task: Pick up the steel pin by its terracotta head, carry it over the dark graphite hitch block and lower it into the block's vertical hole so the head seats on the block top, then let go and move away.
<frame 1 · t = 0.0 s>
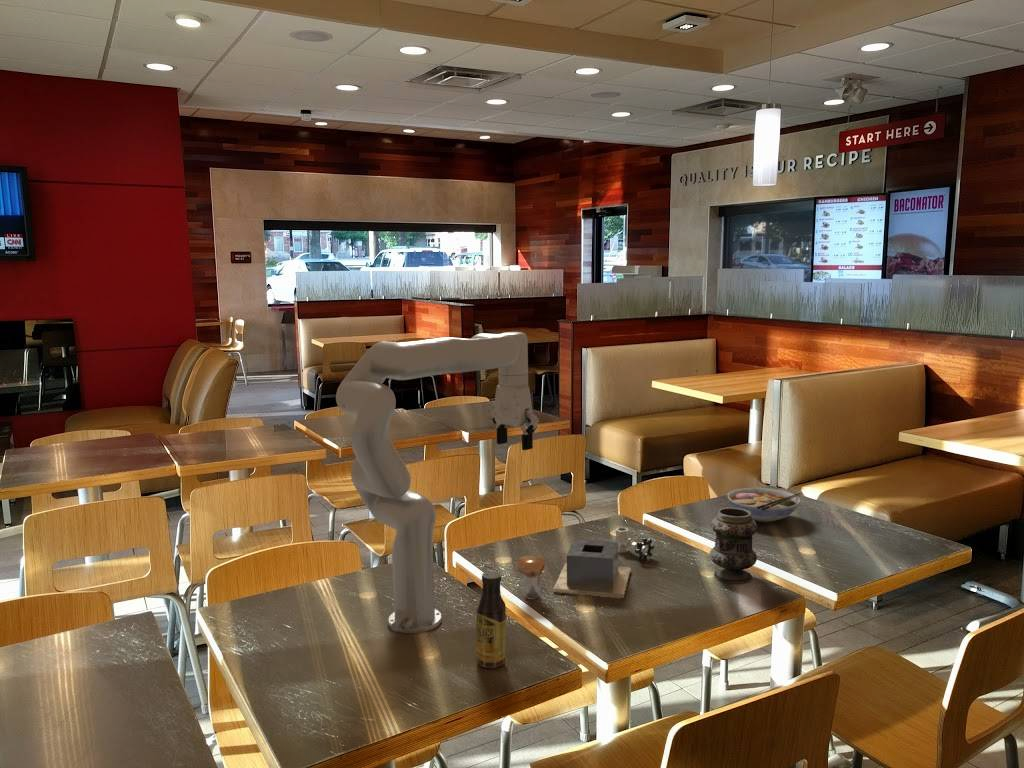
hand: (514, 446, 202), 37 cm above the table, tool pointing down, fingers open, 9 cm apart
hitch block: (593, 581, 207), on the table
ramen bowl: (762, 519, 256), on the table
apothecary jar: (732, 577, 209), on the table
sauce bottle: (491, 663, 166), on the table
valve: (631, 555, 227), on the table
pin: (531, 596, 199), on the table
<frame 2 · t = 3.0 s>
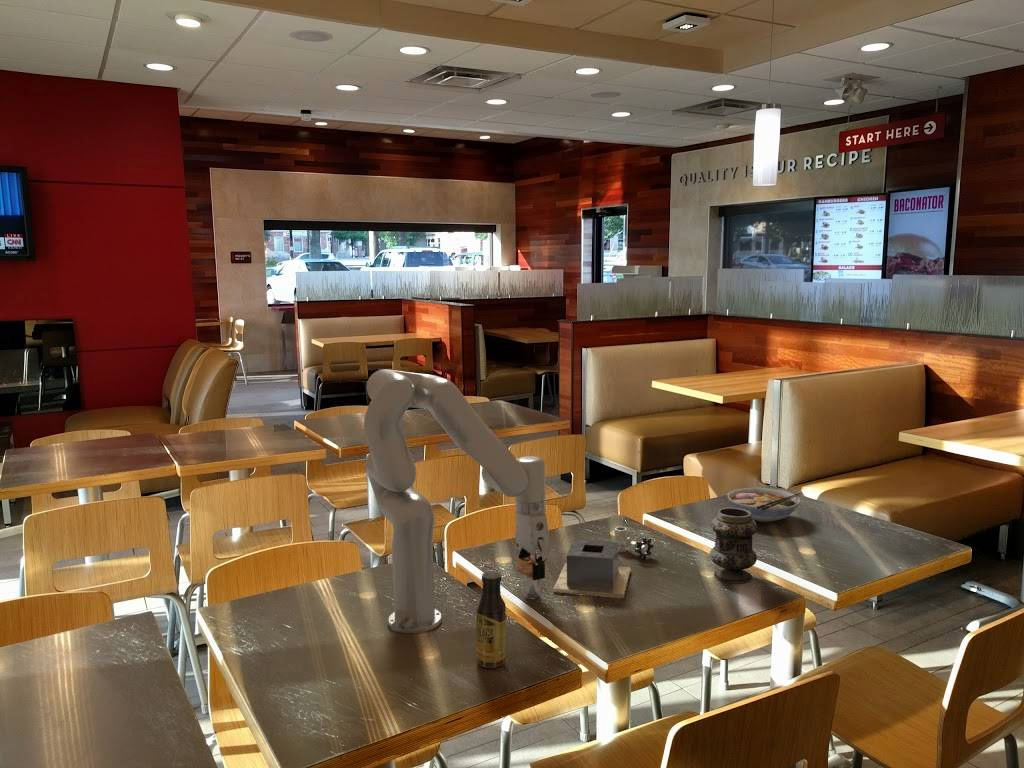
hand: (531, 573, 198), 6 cm above the table, tool pointing down, fingers closed on pin, 7 cm apart
pin: (532, 596, 199), on the table, touching gripper
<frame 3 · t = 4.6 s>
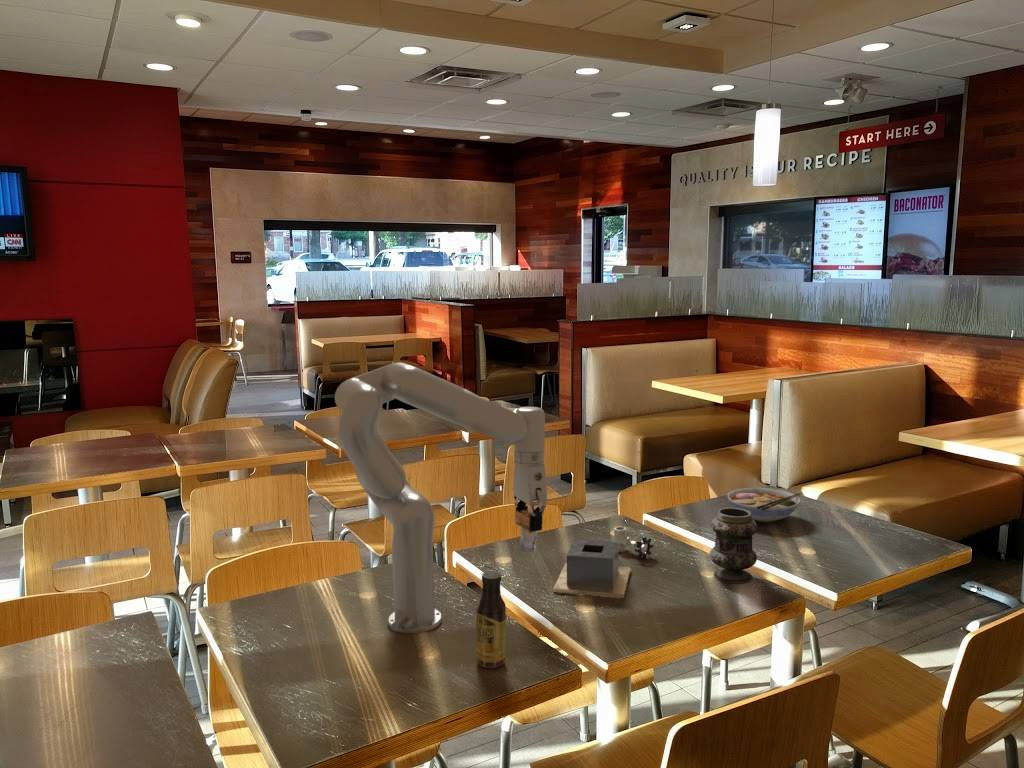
hand: (528, 525, 196), 19 cm above the table, tool pointing down, fingers closed on pin, 7 cm apart
pin: (528, 549, 197), point 13 cm above the table, touching gripper
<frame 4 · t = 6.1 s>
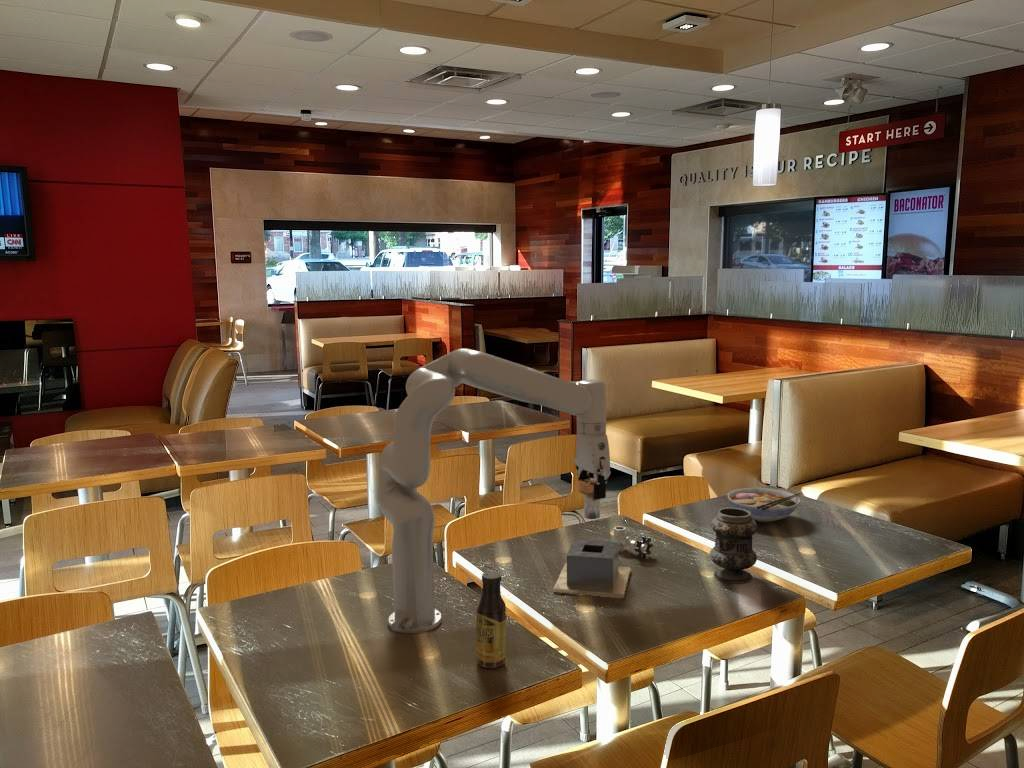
hand: (591, 494, 204), 24 cm above the table, tool pointing down, fingers closed on pin, 7 cm apart
pin: (592, 516, 205), point 18 cm above the table, touching gripper
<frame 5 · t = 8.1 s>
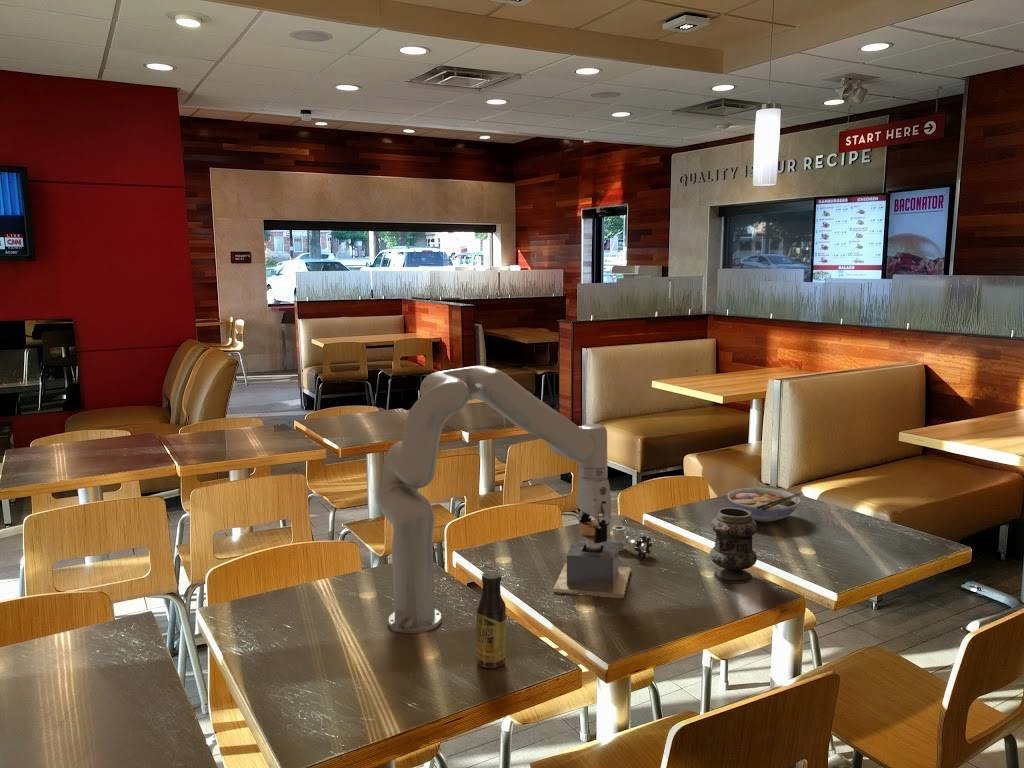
hand: (593, 537, 206), 12 cm above the table, tool pointing down, fingers closed on pin, 7 cm apart
pin: (593, 559, 207), point 6 cm above the table, touching gripper
when the fingers open (10 cm above the table, at t = 9.6 s): pin drops 2 cm, resting on hitch block.
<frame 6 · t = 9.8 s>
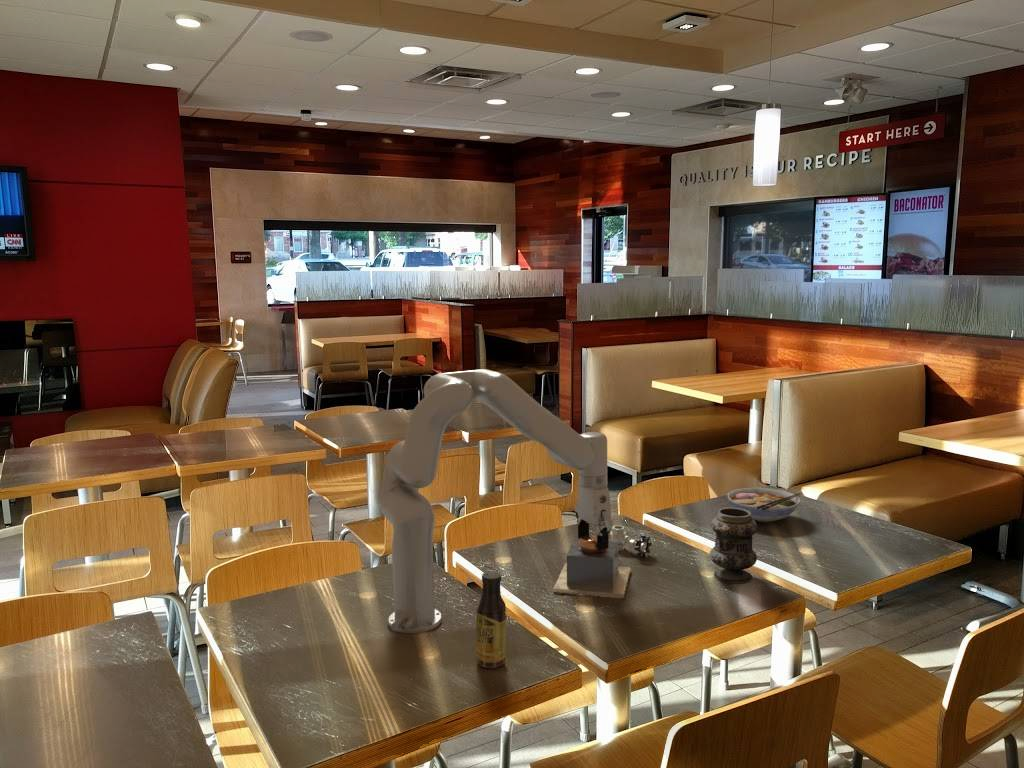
hand: (592, 543, 206), 11 cm above the table, tool pointing down, fingers open, 9 cm apart
pin: (592, 573, 207), point 2 cm above the table, touching hitch block
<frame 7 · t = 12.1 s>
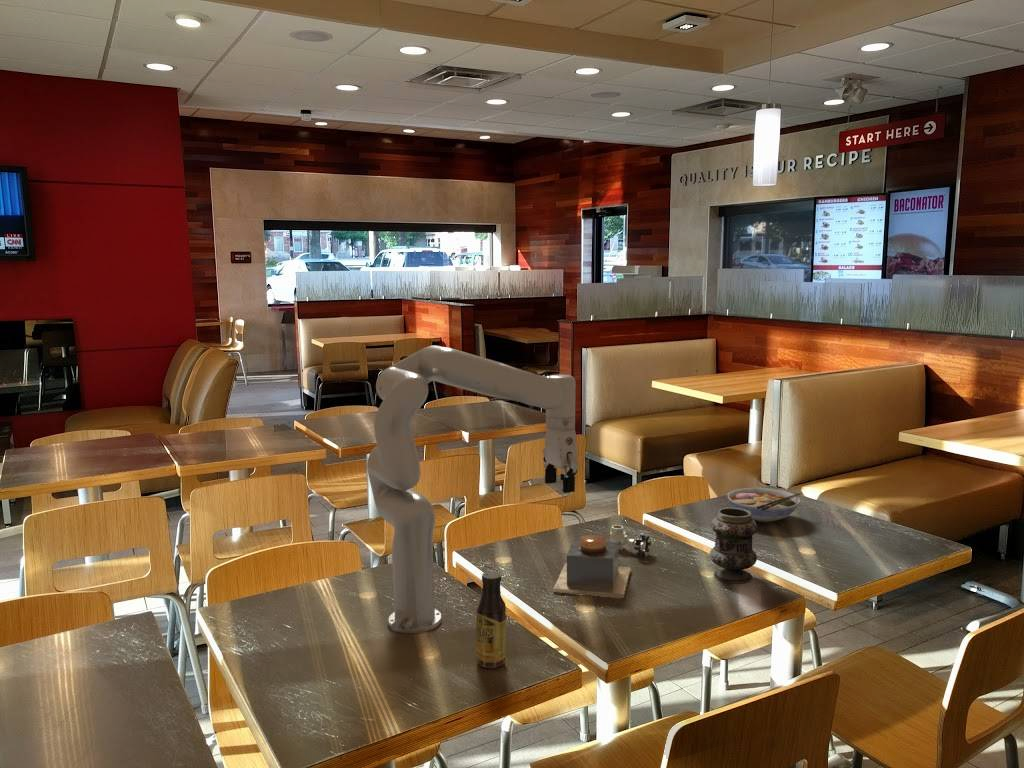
hand: (559, 487, 204), 26 cm above the table, tool pointing down, fingers open, 9 cm apart
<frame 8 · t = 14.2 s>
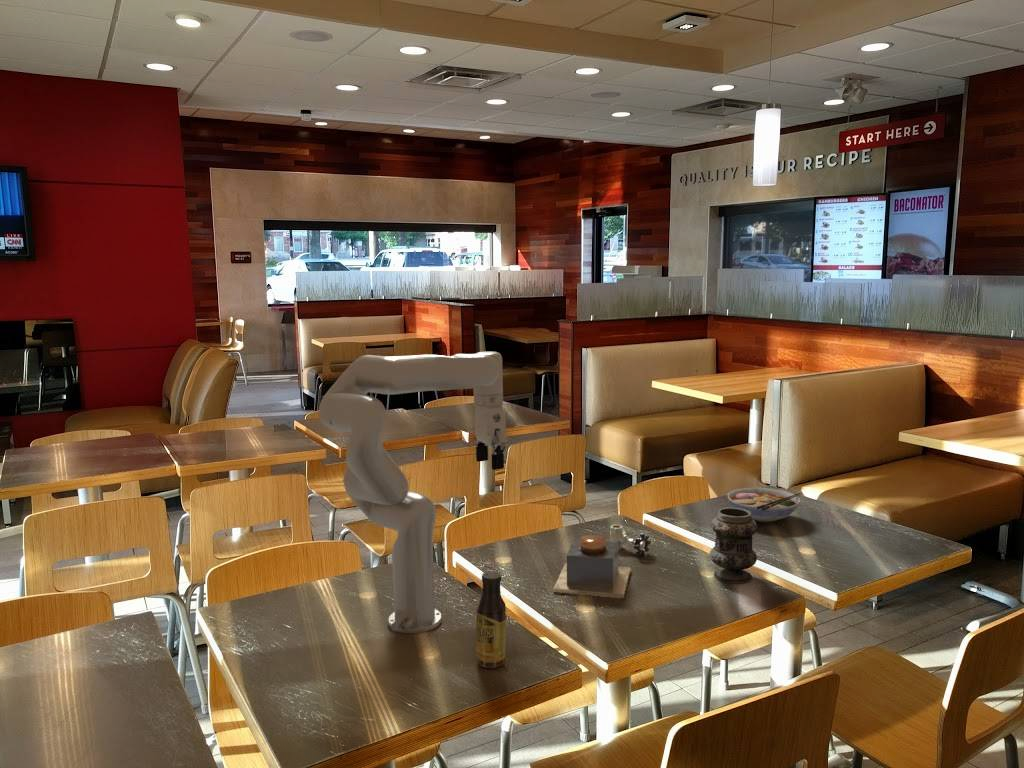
hand: (489, 464, 203), 32 cm above the table, tool pointing down, fingers open, 9 cm apart
at the end: pin 0.1 cm off-centre on the hitch block, point 2.2 cm above the hitch block's base; pin tilted 0°; the gripper is holding nothing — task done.
